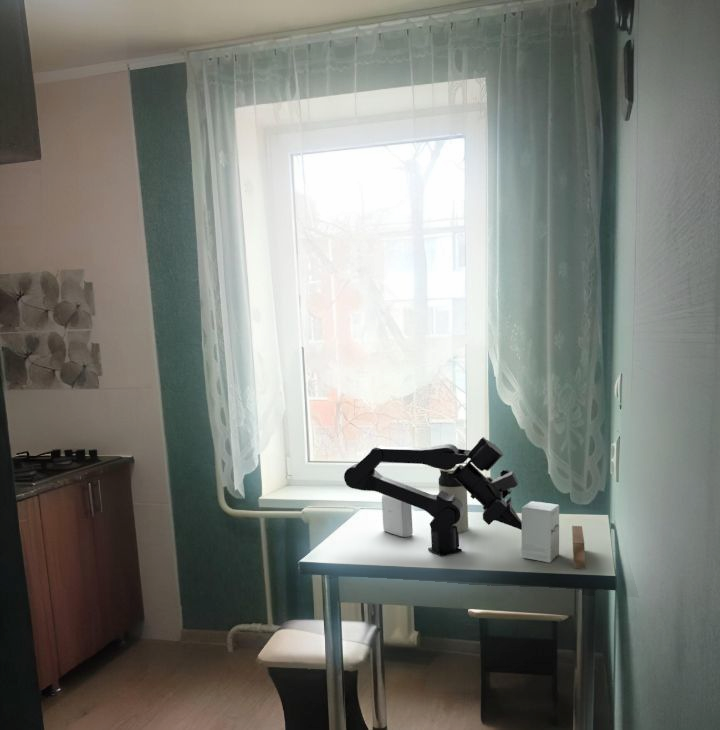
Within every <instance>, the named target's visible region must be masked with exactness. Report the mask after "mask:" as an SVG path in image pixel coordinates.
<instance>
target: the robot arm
mask: <svg viewBox="0 0 720 730" xmlns="http://www.w3.org/2000/svg"><path fill="white" fill-rule="evenodd" d="M503 456H504V452H503V451H502V449H500V448H499V447H498V446H497V445H496V444H495V443H492V442H491V441H490V440H488V439H486V438H485V437H484V436H482V437H481V438H480V439H479V440H478V442H477V444H475V446H474V447H472V449H471V450H470V449H463V448H458V447H457V446H456V445H454V444H451V443H447V444H441V445H435V446H430V447H402V446H383V445H377V446H376V447H374V448H371V450H370V452H369V453H368V454H367V455H365V457H363V459H362V460H360V461H359V462H358V463H356V464H354V465H352V466H350V467H349V468H347V469H346V470H345V472H344V475H343V480H344V482H345V485H346V486H347V487H348V488H350V489H354V490H360V491H363V492H364V491H366V492H376V493H379V494H381V495H383V494H384V495H387V496H389V497H392V498H394V499H397V500H400V501H402V502H405V503H407V504H410V505H411V506H414V507H416V508H418V509H420V510H424V511H425V512H426V513H428V514H429V515H430V516H431V517H432V519H431V521H430V523H429V527H430V538H431V539H430V541H431V542H430V543H431V547H428V548H427V549H428V551H429V552H432V553H434V554H437V555H439V556H441V557H446V556H449V555H454V554H457V553H461V552H463V549H462V548H460V535H459V534H460V533H459V532H458V531H457V526H454V524H456V523H457V522H458V521H459V519H460V517H461V516H462V514H463V511H464V507H463V504H462V502H461V501H460V500H459V499H458V498H455V496H456V495H451V494H448V493H446V492H445V491H442V490H441V491H440V492H439V491H438V493H437V494H432V493H428V492H426V491H423V490H421V489H418V488H415V487H413V486H410V485H407V484H405V483H402V482H399V481H396V480H394V479H391V478H388V477H386V476H383V475H382V474H380V473H379V472H378V471H377V470H376V468H377V467H378V466H379V465H380V464H381V463H393V464H394V463H396V464H417V465H420V464H421V465H425V466H429V467H430V468H434V469H438V470H439V469H443V470H450V469H452V468H454V467H455V466H456V465H458V467H457V468H456V469H455V470H454V471H453V472H448V473H447V476H448V484H451V483H452V482H453V481H454V480H455V479H456V480H457V481H458V482H459V483H460V484H461V485H462V486H463V487H464V488H465V489H466V490H467V492H468V493H469V494H470V495H469V496H470V498H471V499H472V500H474V499H476V501H478V502H479V503H480V504H481V505H482V506H483V507H482V509H483V513H482V520H483V521H484V522H485V523H486V524H487V525H488V526H490V525H491V524H492V523H493V521H494V522H495V521H496V522H499V523H502V524H504V525H507V526H510V527H514V528H515V529H518V530H521V531H522V519H521V518H520V517H519V515H518V514H517V512H516V511H515V510H514V507H513V504H512V503H513V501H512V496H511V497H509V498H508V499H506V497H507V496H508V495H510V494H511V493H512V489H514V488H516V487H517V486H518V485H519V483H520V482H519V480H518V478H517V476H516V473H515V472H514V471H513V470H508V469H507V468H504V469H502V470H500V476H497V478H495V479H492V478H491V476H485V475H484V474H483V473H482V472H483V471H487V472H488V471H490V470H491V469H492V467H494V465H495V464H496V463H498V462H499V461H500V459H501V458H503ZM468 459H469V460H468ZM467 460H468V462H466V461H467ZM465 462H466V464H465V465H463V464H464V463H465Z"/></svg>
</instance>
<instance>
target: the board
mask: <svg viewBox="0 0 720 730" xmlns="http://www.w3.org/2000/svg"><path fill="white" fill-rule="evenodd" d="M571 532H572V533H571V536H572V538H571V539H572V552H573V553H572V556H573V566H574V567H573V568H574V569H579V568H585V569H586V553H585V552H586V551H585V548H586V547H585V539H584V532H583V526H582V525H572V526H571Z"/></svg>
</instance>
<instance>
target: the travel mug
mask: <svg viewBox="0 0 720 730" xmlns="http://www.w3.org/2000/svg"><path fill="white" fill-rule="evenodd" d="M458 466H459V464H456V466H455V467H454V468H452V469H450V470H443V469H438V470H439V473H440V475H439V477H438V493H439V492H440V491H441V490H442V491H445V492H446V493H448V494H451V495H456V496H455V498H458V499H459V500H460V501H461V502H462V504H463V507H464V511H463V514H462V516H461V517H460V519H459V521H458V522H457V523H456V524H454V526H457V531H458V532H460V533H464V532H466V531H468V529H469V513H468V508H469V506H468V491H467V490H466V489H465V488H464V487H463V486H462V485H461V484H460V483H459V482H458V481H457V480H456V479H455V480H454V481H453V482H452V483H451V484H448V476H447V473H448V472H453V471H454V470H455V469H456V468H457V467H458Z"/></svg>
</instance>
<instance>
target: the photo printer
mask: <svg viewBox="0 0 720 730" xmlns="http://www.w3.org/2000/svg"><path fill="white" fill-rule="evenodd" d="M381 506H382V507H381V508H382V511H381V512H382V526H383V531H384V532H387V533H389V534H393V535H396V536H399V537H402V538H409V537H411V536H412V535H413V533H414V532H413V515H412V514H413V513H412V510H413V509H412V505H410V504H407V503H405V502H402V501H400V500H397V499H394V498H392V497H389V496H387V495H384V494H381Z"/></svg>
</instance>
